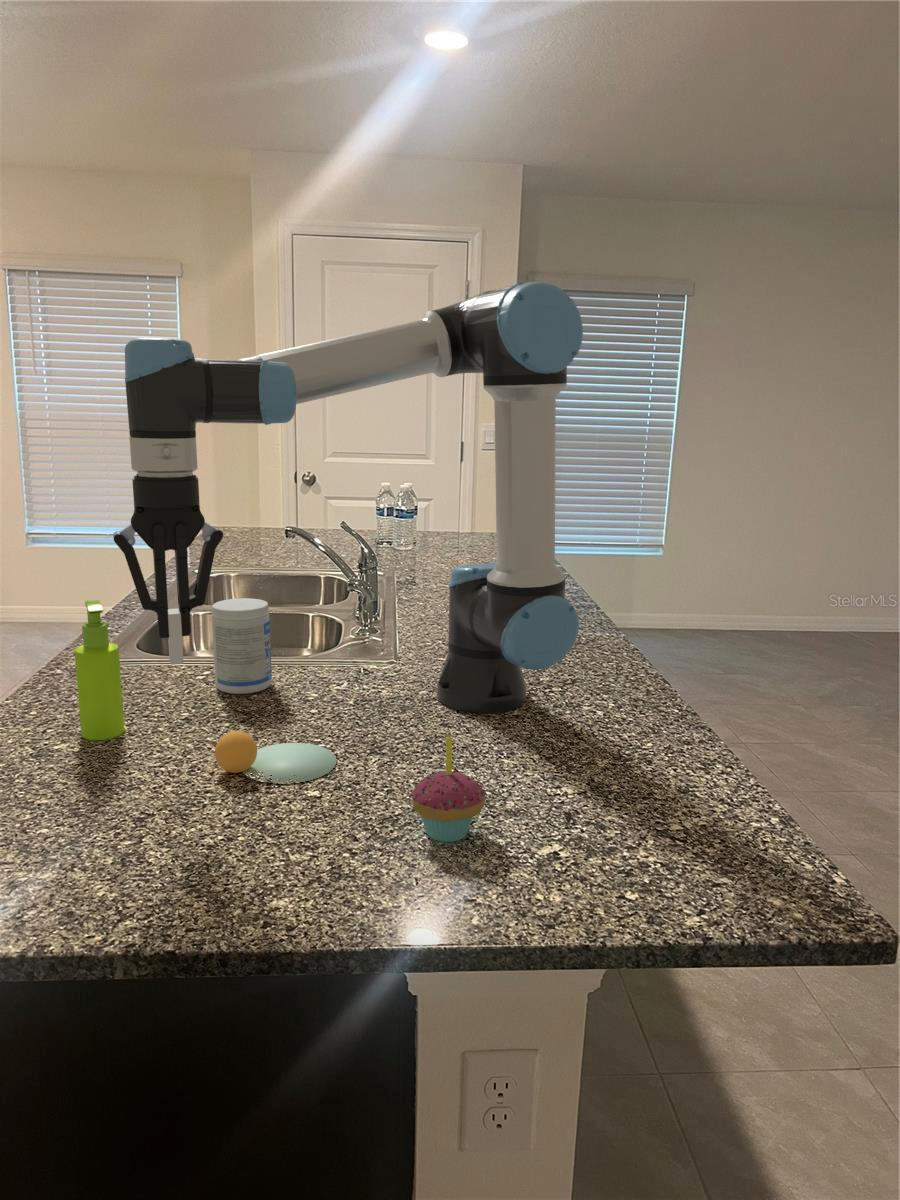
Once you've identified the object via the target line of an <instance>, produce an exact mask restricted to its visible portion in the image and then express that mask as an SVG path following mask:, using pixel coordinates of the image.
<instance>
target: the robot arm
mask: <svg viewBox="0 0 900 1200" xmlns="http://www.w3.org/2000/svg"><path fill="white" fill-rule="evenodd" d="M583 328H584V327H583V320H582V317H581V313H580V311H579V309H578V307H577V305H576V303H575V301H574V299H572V298H570V296H569V294H567V292H566V291H564V290H563V289H562V288H561V287H558V286H557V285H555V284H553V283H549V282H544V281H534V282H532V281H527V282H519V283H516V284H514V285H509V286H505V287H503V288H498V289H493V290H488V291H484V292H482V293H478V294H476V295H473V296H472V297H469V298H467V299H464V300H461V301H459V302H456V303H453V304H450V305H448V306H445V307H441V308H438V309H433V310H427V311H426V312H425V313H424V314H423V316H422V318H421V319H420V320H415V321H410V322H406V323H402V324H397V325H396V324H395V325H392V326H387V327H383V328H378V329H372V330H370V331H365V332H360V333H355V334H350V335H346V336H341V337H336V338H331V339H327V340H322V341H317V342H313V343H312V342H311V343H309V344H304V345H299V346H295V347H289V348H285V349H281V350H275V351H271V352H266V353H261V354H258V355H253V356H248V357H243V358H237V359H206V358H201V357H195V353H194V352H193V349H192V344H191V343H190V342H189V341H187V340H183V339H173V338H172V339H171V338H159V337H158V338H155V337H150V338H149V337H141V338H132V339H131V340H129V341H128V343H126V345H125V347H124V371H125V373H124V375H125V376H124V382H125V383H124V384H125V393H126V394H125V395H126V396H125V397H126V407H127V408H126V409H127V418H128V420H127V421H128V429H129V432H128V433H129V451H130V466H131V470H132V471H134V472H135V473H136V475H134V476H133V478H132V479H131V480H132V494H133V507H134V508H133V513H132V516H131V518H130V524H128V525H127V526H126V527H124V528H122V530H119V531H118V530H117V531H115V532H114V533H113V535H112V536H113V542H114V543H115V544H116V545H117V547H118V548H119V549H120V550H121V551H122V553H123V554H124V557H125V560H126V563H127V567H128V569H129V573H130V575H131V578H132V581H133V584H134V587H135V589H136V593H137V596H138V598H139V602H140V605H141V607H142V609H143V610H145V611H152V612H155V613H156V614H157V615H156V616H157V630H158V632H157V633H158V635H159V637H160V639H167V641H168V659H169V662H170V664H171V666H173V665H183V664H184V650H183V646H184V645H183V637H188V636H189V637H190V636H191V633H192V628H191V627H192V626H191V624H192V623H191V611H192V610H193V609H195V608H196V607H201V606H203V605H204V604H205V601H206V597H207V592H208V588H209V582H210V577H211V573H212V569H213V563H214V559H215V558H214V557H215V552H216V549H217V547H218V545H219V544H220V542H221V541H222V540H223V537H224V533H223V531H222V529H220V528H219V527H215V526H212V525H211V524H209V523H208V522H206V520H205V517H204V515H203V513H202V512H201V507H200V487H199V478H198V477H197V475H196V474H194V472H195V471H197V470H198V468H199V467H198V454H197V453H198V451H197V450H198V449H197V430H196V427H197V426H196V425H197V423H202V424H210V423H214V424H215V423H216V424H218V423H219V424H252V425H253V424H259V425H260V424H261V425H262V424H264V425H265V426H268V425H271V424H286V423H289V422H290V421H291V420H292V419H293V418H294V415H295V413H296V409H297V405H300V404H305V403H308V402H312V401H315V400H321V399H325V398H328V397H333V396H337V395H341V394H347V393H350V392H351V393H352V392H354V391H358V390H363V389H367V388H372V387H376V386H380V385H385V384H388V383H389V384H390V383H393V382H397V381H398V382H399V381H401V380H406V379H411V378H415V377H419V376H423V375H427V374H434V375H435V376H437V377H438V378H445V377H449V376H453V375H459V374H462V375H463V374H480V373H481V374H482V378H483V382H482V383H483V389H484V390H485V391H486V392H487V393H488V394H489V395H490V396H491V397H492V399H493V400H494V401H493V402H494V456H495V457H494V460H495V463H494V464H495V468H494V469H495V470H494V471H495V520H496V521H495V523H496V524H495V525H496V526H495V527H496V528H495V529H496V531H495V533H496V534H495V535H496V539H495V540H496V562H495V563H494V562H493V563H492V562H491V563H469V564H461V565H458V566H456V567H454V568H453V569H452V571H451V573H450V578H449V579H450V582H449V585H448V590H449V603H448V604H449V605H448V606H449V607H448V608H449V609H448V610H449V611H448V612H449V613H448V614H449V615H448V652H447V656H446V657H445V658H446V659H445V661H444V664H443V666H442V669H441V673H440V675H439V678H438V681H437V684H436V685H437V687H436V690H437V691H436V697H437V700H439V702H440V703H441V704H443V705H445V706H447V707H449V708H452V709H455V710H459V711H462V712H470V713H477V714H478V713H480V714H482V713H483V714H490V713H493V714H494V713H495V714H496V713H502V712H508V711H512V710H515V709H518V708H520V707H522V706H523V705H524V704H525V703H526V700H527V685H526V681H525V676H524V673H523V669H522V668H524V669H527V670H533V671H536V670H537V671H538V670H545V669H548V668H551V667H553V666H554V665H557V663H559V662H561V661H562V660H563V659H564V657H565V656H566V655H567V653H570V651H571V650H572V648H573V647H574V645H575V643H576V641H577V638H578V636H579V631H580V620H579V615H578V613H577V610H576V608H575V607H574V606H573V605H572V603H571V602H570V601H569V600H568V599H566V576H565V573H564V572H563V571H562V570H561V569H560V568H558V566H557V565H556V416H557V415H556V411H557V410H556V403H557V402H556V399H557V398H558V395H560V393H561V392H562V391H563V390H564V389H565V388H566V387H567V380H568V379H567V378H568V377H567V374H568V373H567V372H568V371H567V370H568V366H570V364H572V363H573V362H574V358H575V357H576V356H577V355H578V354H579V352H580V350H581V346H582V343H583V336H584V329H583ZM201 531H202V534H201V539H202V541H204V542H203V545H202V548H201V554H200V558H199V563H198V568H197V574H196V577H195V578H196V579H195V584H194V588H193V593H192V595H190V582H189V567H188V566H189V565H188V548H189V547H190V546H191V545H192V543H193V542H194V541H195V539H196V538H197V536H198V535H199V534H200V532H201ZM135 534H138V536H139V538H141V540H142V541H143V542H144V543H145V544H146V545H147V546H148V548H150V549H151V550H152V556H153V571H154V572H153V573H154V585H155V586H154V587H155V590H154V591H155V598H152V597H151V596H150V593H149V590H148V587H147V584H146V581H145V578H144V574H143V572H142V569H141V566H140V562H139V560H138V556H137V554H136V550H135V548H134V545H135V543H136V538H135ZM169 550H170V551H171V550H172V551H174V557H175V558H174V559H175V573H176V576H175V577H176V590H177V591H176V592H177V604H178V608H169V603H168V602H169V601H168V586H167V585H168V584H167V583H168V582H167V567H166V566H167V565H166V552H167V551H169Z"/></svg>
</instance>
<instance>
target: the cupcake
mask: <svg viewBox="0 0 900 1200" xmlns="http://www.w3.org/2000/svg"><path fill="white" fill-rule="evenodd" d="M447 735H448V736H446V739H445V742H446V744H445V745H446V746H445V747H446V748H445V751H446V753H445V763H446V764H445V770H444V771H439V772H434V773H432V774H428V775H426V777H424V778H422V779H421V780H419V781H418V782H417V783H416V784H415V786H414V788H413V789H412V795H411V796H412V797H411V801H412V808H413V809H414V811H415V812H416V813H418V815H419V816H420V818H421V819H422V822H423V825H424V829H425V833H426V835H427V836H428V837H429V838H431V839H432V840H433V841H437V842H441V843H442V842H443V843H453V842H458V841H460V840H462V839H464V838H465V837H466V836H467V834H468V831H469V828H470V825H471V823H472V821H473V818H474V817H476V816H478V815H479V814H480V813H481V812H482V810H483V808H484V806H485V803H486V791H485V790H483V787H482V786H481V785H480V783H479V781H477V780H475V779H474V777H470V775H467V774H465V773H461V772H455V771H452V770H453V769H452V767H453V766H452V765H453V764H452V761H453V759H452V758H453V757H452V755H453V737H452V736H451V731H450V729H448V733H447Z"/></svg>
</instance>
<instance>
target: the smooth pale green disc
mask: <svg viewBox="0 0 900 1200" xmlns="http://www.w3.org/2000/svg"><path fill="white" fill-rule="evenodd" d="M336 757H337V756H336V755H335V753H333V752H332V751H331V750H329V749H328V748H326V747H323V746H320V745H316V744H312V743H303V742H285V743H277V744H271V745H267V746H263V747H260V748H257V757H256V759H255V761H254V763H253V764H252V766H251V767H249V768H248V769H247V770H245V771H243V773H244V774H245V775H246V774H247V775H248V776H249V774H248V772H250V773H252V774H254V775H255V778H257V779H258V777H257V776H259V777H260V775H259V774H258V772H259V773H260V774H261V775H262V773H261V772H263V774H264V776H265V778H266V779H268V780H270V779H269V778H268V777H270V778H271V779H272V782H273V783H276V782H275V781H277V782H279V781H278V780H280V781H282V782H283V783H288V782H290V783H292V782H291V781H290V780H292V781H294V782H296V781H295V780H294V779H296V780H297V782H300V781H301V782H304V783H306V782H305V781H308V780H312V781H314V780H313V779H315V778H318V779H320V778H319V777H321V776H323V775H325V774H327V773H328V772H330V771H331V770H332V771H333V770H334V769H333V768H335V767H336V766H335V765H337V758H336ZM256 770H257V771H258V772H257V771H256ZM260 771H261V772H260ZM332 771H331V772H332ZM331 772H330V773H331ZM243 773H242V774H243ZM244 774H243V775H244ZM270 774H271V775H272V777H271V776H270ZM328 774H329V773H328ZM328 774H327V775H328ZM245 775H244V776H245ZM256 775H257V776H256ZM294 775H295V776H297V777H298V778H296V777H295V776H294ZM262 776H263V775H262ZM264 776H263V777H264ZM325 776H326V775H325ZM249 777H250V776H249ZM323 777H324V776H323ZM255 778H252V779H255ZM260 778H261V777H260ZM265 778H264V780H265V781H266V782H268V781H267V780H266V779H265ZM280 778H281V779H280ZM293 778H294V779H293ZM321 778H322V777H321ZM252 779H251V780H252ZM261 779H262V778H261ZM277 779H278V780H277ZM289 779H290V780H289ZM258 780H259V779H258ZM274 780H275V781H274ZM270 781H271V780H270ZM287 781H288V782H287ZM279 783H280V782H279Z"/></svg>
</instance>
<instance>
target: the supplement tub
mask: <svg viewBox="0 0 900 1200" xmlns="http://www.w3.org/2000/svg"><path fill="white" fill-rule="evenodd" d="M211 609H212V611H211V629H212V643H213V645H212V646H213V662H214V663H213V664H214V679H215V681H214V683H215V686H216V688H217V689H218V690H219V691H221V692H224V693H226V694H232V695H233V694H234V695H247V694H254V693H258V692H262V691H264V690H265V689H268V688H269V687H270V686H271V685H272V682H273V673H272V672H273V671H272V669H273V667H272V646H271V644H272V643H271V641H272V640H271V619H270V618H271V617H270V610H269V603H268V601H266V600H263V599H258V598H250V597H249V598H248V597H247V598H246V597H245V598H244V597H243V598H230V599H229V598H228V599H223V600H220V601H216V602H215V603H213V604H212V608H211Z"/></svg>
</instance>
